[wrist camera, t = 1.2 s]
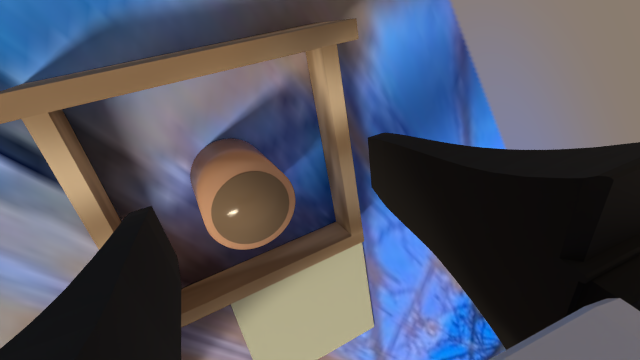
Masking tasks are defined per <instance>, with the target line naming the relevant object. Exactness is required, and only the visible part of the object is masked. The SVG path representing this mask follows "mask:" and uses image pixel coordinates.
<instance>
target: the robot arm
mask: <svg viewBox="0 0 640 360" xmlns="http://www.w3.org/2000/svg"><path fill="white" fill-rule="evenodd" d="M368 145H369V158H370V171H371V184H372V188H373V190H374V191H375V192H376V194H377V195H378V196H379V198H380V199H381V200H382V202H383V203H384V204H385V205H386V207H387V208H388V209H389V210H390V211H391V212H392V213H393V214H394V215H395V216H396V217H397V218H398V219H399V220H400V221H401V222H402V223H403V224H404V225H405V226H406V227H407V228H409V229H410V230H411V231H412V232H413V233H414V234H415V235H416V236H417V237H418V238H419V239H420V240H421V241H422V242H423V243H424V244H425V245H426V246H427V247H428V248H429V249H430V250H431V251H432V252H433V253H434V254H435V255H436V256H437V258H438V259H439V260H440V261H441V262H442V264H443V265H444V266H445V267H446V268H447V270H448V271H449V272H450V273H451V275H452V276H453V277H454V278H455V279H456V281H457V282H458V283H459V285H460V286H461V287H462V289H463V290H464V291H465V292H466V294H467V295H468V296H469V298H470V299H471V300H472V301H473V303H474V304H475V306H476V307H477V308H478V310H479V311H480V313H481V314H482V315H483V317H484V318H485V319H486V321H487V322H488V324H489V325H490V326H491V328H492V329H493V331H494V332H495V334H496V335H497V336H498V338H499V339H500V341H501V342H502V344H503V345H504V347H505V348H506V351H504V352H502V353H500V354H498V355H497V356H495V357H493V358H491V359H489V360H640V142H639V143H630V144H621V145H613V146H603V147H594V148H578V149H561V150H508V149H493V148H480V147H471V146H464V145H457V144H450V143H444V142H438V141H433V140H427V139H422V138H417V137H411V136H406V135H400V134H393V133H381V134H378V135H375V136H372V137H369V138H368ZM0 360H181V279H180V272H179V266H178V259H177V256H176V254H175V252H174V250H173V248H172V246H171V244H170V242H169V240H168V238H167V236H166V234H165V232H164V230H163V228H162V226H161V224H160V222H159V220H158V218H157V216H156V214H155V212H154V210H153V208H152V206H150V207H147V208H144V209H141V210H138V211H134V212H131V213H129V214H128V215H127V216H126V217H125V219H124V220H123V221H122V222H121V223H120V225H119V226H118V227H117V228H116V230H115V231H114V232H113V233H112V235H111V236H110V237H109V239H108V240H107V241H106V242H105V244H104V245H103V246H102V247H101V249H100V250H99V251H98V252H97V253H96V255H95V256H94V257H93V258H92V260H91V261H90V262H89V263H88V264H87V265H86V266H85V267H84V269H83V270H82V271H81V272H80V273H79V274H78V275H77V277H76V278H75V279H74V280H73V281H72V282H71V283H70V284H69V286H68V287H67V288H66V289H65V290H64V291H63V292H62V293H61V294H60V295H59V296H58V297H57V298H56V299H55V300H54V301H53V302H52V303H51V304H50V305H49V306H48V307H47V308H46V309H45V310H44V311H43V312H42V313H41V314H40V315H38V316H37V317H36V318H35V319H34V320H33V321H32V322H31V323H30V324H29V325H28V326H27V327H25V328H24V329H23V330H22V331H21V332H20V333H18V334H17V335H16V336H15V337H14V338H13V339H11V340H10V341H9V342H8V343H7V344H5V345H4V346H3V347H2V348H1V349H0Z"/></svg>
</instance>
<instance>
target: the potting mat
mask: <svg viewBox="0 0 640 360" xmlns="http://www.w3.org/2000/svg"><path fill="white" fill-rule="evenodd" d="M231 307H232V309H233V312H234V314H235V317H236V319H237V322H238V324H239V326H240V329H241V331H242V334H243V336H244V339H245V341H246V344H247V346H248V349H249V351H250V354H251V356H252V359H253V360H318V359H319V358H321V357H323V356H324V355H326V354H328V353H330V352H331V351H333V350H335V349H337V348H338V347H340V346H342V345H344V344H345V343H347V342H349V341H350V340H352V339H354V338H356V337H357V336H359V335H361V334H363V333H364V332H366V331H368V330H369V329H371V328H373V327H374V323H373V316H372V309H371V302H370V295H369V288H368V281H367V274H366V267H365V260H364V253H363V246H362V242H361V243H359V244H357V245H355V246H353V247H351V248H349V249H347V250H344V251H342V252H340V253H338V254H336V255H334V256H332V257H330V258H328V259H325V260H323V261H321V262H319V263H317V264H315V265H313V266H311V267H308V268H306V269H304V270H302V271H300V272H298V273H296V274H294V275H292V276H289V277H287V278H285V279H283V280H281V281H279V282H277V283H275V284H272V285H270V286H268V287H266V288H264V289H262V290H260V291H258V292H256V293H253V294H251V295H249V296H247V297H245V298H243V299H241V300H239V301H236V302H234V303H232V304H231Z"/></svg>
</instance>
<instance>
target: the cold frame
mask: <svg viewBox="0 0 640 360" xmlns="http://www.w3.org/2000/svg"><path fill="white" fill-rule="evenodd" d="M356 39H358V30H357V21H356V18H355V19H346V20H338V21H329V22H320V23H313V24H308V25H304V26H299V27H294V28H289V29H284V30H280V31H275V32H270V33H265V34H260V35H256V36H251V37H246V38H241V39H236V40H231V41H227V42H222V43H217V44H212V45H207V46H203V47H198V48H193V49H188V50H183V51H179V52H174V53H169V54H164V55H159V56H155V57H150V58H145V59H140V60H135V61H131V62H126V63H121V64H116V65H111V66H107V67H102V68H97V69H92V70H87V71H83V72H78V73H73V74H68V75H63V76H58V77H54V78H49V79H44V80H39V81H34V82H30V83H25V84H21V85H18V86H15V87H12V88H9V89H6V90H3V91H0V124H1V123H6V122H10V121H14V120H18V119H22V120H23V122H24V124H25V125H26V127H27V129H28V130H29V132H30V134H31V136H32V137H33V139H34V141H35V142H36V144H37V146H38V147H39V149H40V151H41V152H42V154H43V156H44V158H45V159H46V161H47V163H48V164H49V166H50V168H51V169H52V171H53V173H54V174H55V176H56V178H57V180H58V181H59V183H60V185H61V186H62V188H63V190H64V191H65V193H66V195H67V196H68V198H69V200H70V202H71V203H72V205H73V207H74V208H75V210H76V212H77V213H78V215H79V217H80V218H81V220H82V222H83V224H84V225H85V227H86V229H87V230H88V232H89V234H90V235H91V237H92V239H93V240H94V242H95V244H96V246H97V247H98V249H99V250H100V249H101V247H102V246H103V245H104V244H105V242H106V241H107V240H108V239H109V237H110V236H111V235H112V233H113V232H114V231H115V230H116V228H117V227H118V226H119V225H120V223H121V220H120V218H119V216H118V215H117V213H116V211H115V209H114V207H113V205H112V203H111V201H110V199H109V197H108V196H107V194H106V192H105V190H104V188H103V186H102V184H101V182H100V180H99V179H98V177H97V175H96V173H95V171H94V169H93V167H92V165H91V163H90V161H89V160H88V158H87V156H86V154H85V152H84V150H83V148H82V146H81V144H80V143H79V141H78V139H77V137H76V135H75V133H74V131H73V129H72V127H71V126H70V124H69V122H68V120H67V118H66V116H65V114H64V112H63V110H62V109H65V108H69V107H73V106H77V105H82V104H86V103H90V102H94V101H99V100H103V99H107V98H111V97H115V96H120V95H124V94H128V93H132V92H137V91H141V90H145V89H149V88H153V87H158V86H162V85H166V84H170V83H175V82H179V81H183V80H187V79H191V78H196V77H200V76H204V75H208V74H213V73H217V72H221V71H225V70H229V69H234V68H238V67H242V66H246V65H251V64H255V63H259V62H263V61H268V60H272V59H276V58H280V57H284V56H289V55H293V54H297V53H301V52H306V57H307V62H308V68H309V73H310V79H311V84H312V90H313V96H314V101H315V107H316V112H317V118H318V123H319V129H320V134H321V140H322V145H323V151H324V157H325V162H326V168H327V173H328V179H329V184H330V190H331V195H332V201H333V207H334V212H335V218H336V222H334V223H332V224H330V225H327V226H325V227H323V228H320V229H318V230H316V231H314V232H311V233H309V234H307V235H304V236H302V237H300V238H297V239H295V240H293V241H291V242H288V243H286V244H284V245H281V246H279V247H277V248H274V249H272V250H270V251H268V252H265V253H263V254H261V255H258V256H256V257H254V258H252V259H249V260H247V261H245V262H242V263H240V264H238V265H235V266H233V267H231V268H229V269H226V270H224V271H222V272H219V273H217V274H215V275H213V276H210V277H208V278H206V279H203V280H201V281H199V282H196V283H194V284H192V285H190V286H187V287H185V288H183V289H181V327H184V326H186V325H188V324H190V323H192V322H194V321H196V320H198V319H200V318H203V317H205V316H207V315H209V314H211V313H213V312H215V311H217V310H220V309H222V308H224V307H226V306H228V305H230V304H232V303H234V302H236V301H239V300H241V299H243V298H245V297H247V296H249V295H251V294H253V293H256V292H258V291H260V290H262V289H264V288H266V287H268V286H270V285H272V284H275V283H277V282H279V281H281V280H283V279H285V278H287V277H289V276H292V275H294V274H296V273H298V272H300V271H302V270H304V269H306V268H308V267H311V266H313V265H315V264H317V263H319V262H321V261H323V260H325V259H328V258H330V257H332V256H334V255H336V254H338V253H340V252H342V251H344V250H347V249H349V248H351V247H353V246H355V245H357V244H359V243H361V242H363V241H364V237H363V229H362V222H361V215H360V208H359V201H358V194H357V186H356V179H355V172H354V165H353V158H352V151H351V143H350V136H349V129H348V122H347V115H346V108H345V100H344V93H343V86H342V79H341V72H340V65H339V57H338V50H337V44H339V43H344V42H348V41H352V40H356Z"/></svg>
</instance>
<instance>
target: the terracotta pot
mask: <svg viewBox="0 0 640 360" xmlns="http://www.w3.org/2000/svg"><path fill="white" fill-rule="evenodd" d="M190 180H191V185H192V188H193V191H194V194H195V197H196V200H197V203H198V206H199V209H200V212H201V215H202V218H203V221H204V224H205V226H206V228H207V230H208V232H209V234H210V235H211V236H212V237H213V238H214V239H215V240H216V241H217V242H219V243H220V244H222V245H224V246H226V247H229V248H233V249H240V250H246V249H253V248H257V247H260V246H263V245H265V244H267V243H269V242H271V241H272V240H274V239H275V238H276V237H278V236H279V235H280V234H281V233H282V232H283V231H284V229H285V228H286V227H287V225H288V224H289V222H290V220H291V218H292V216H293V213H294V209H295V193H294V189H293V186H292V184H291V182H290V181H289V179H288V178H287V177H286V176H285V175H284V174H283V173H282V172H281V171H280V170H279V169H278V168H277V167H276V166H275V165H274V164H273V163H271V162H270V161H269V160H268V159H267V158H266V157H265V156H264V155H263V154H262V153H261V152H260V151H259V150H257V149H256V148H255V147H254V146H253V145H251V144H250V143H248V142H246V141H243V140H240V139H234V138H227V139H221V140H218V141H215V142H213V143H211V144H209V145H207V146H206V147H205V148H203V149H202V150H201V151H200V152H199V154H198V155H197V156H196V158H195V159H194V162H193V164H192V167H191V172H190Z"/></svg>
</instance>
